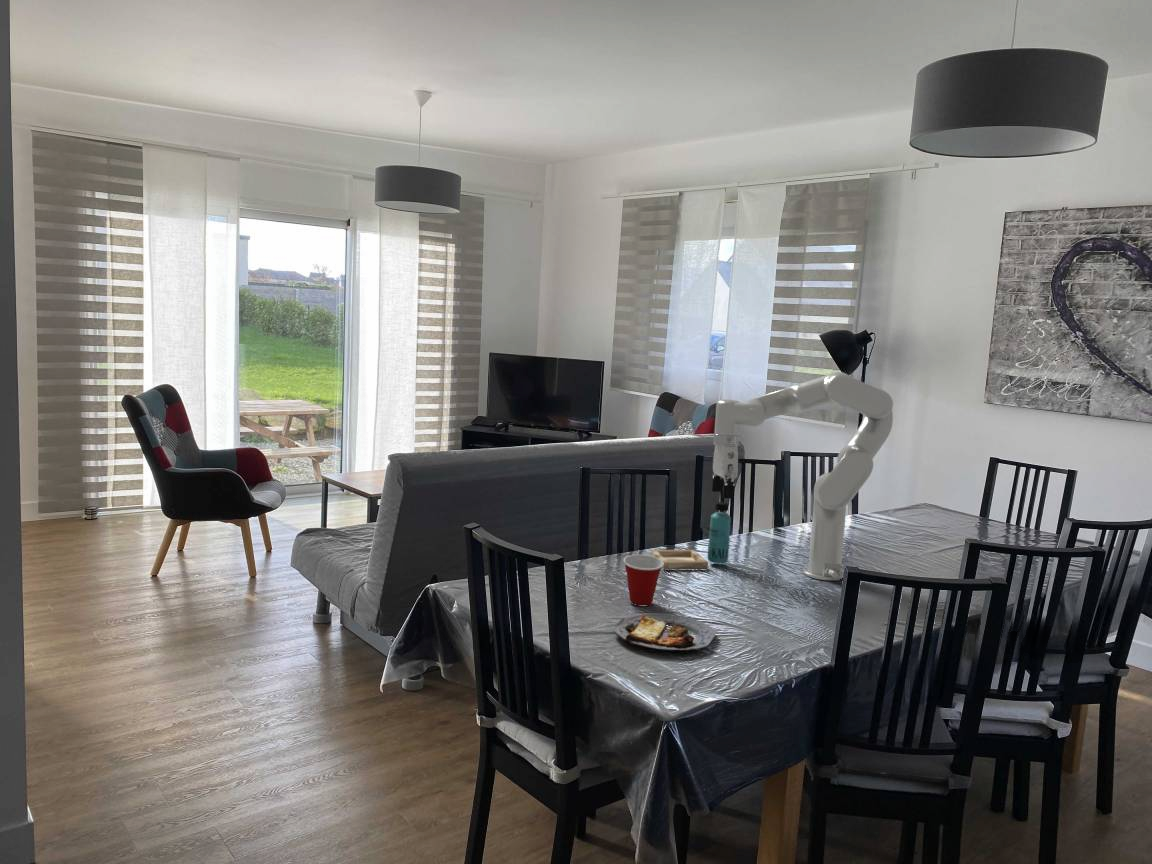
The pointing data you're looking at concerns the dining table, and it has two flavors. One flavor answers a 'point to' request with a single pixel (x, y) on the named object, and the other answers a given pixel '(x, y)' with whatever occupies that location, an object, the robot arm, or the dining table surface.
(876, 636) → the dining table surface
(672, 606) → the dining table surface
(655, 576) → the plastic cup
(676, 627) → the food plate
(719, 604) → the dining table surface
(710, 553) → the beverage bottle
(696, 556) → the tray
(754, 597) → the dining table surface
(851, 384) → the robot arm
